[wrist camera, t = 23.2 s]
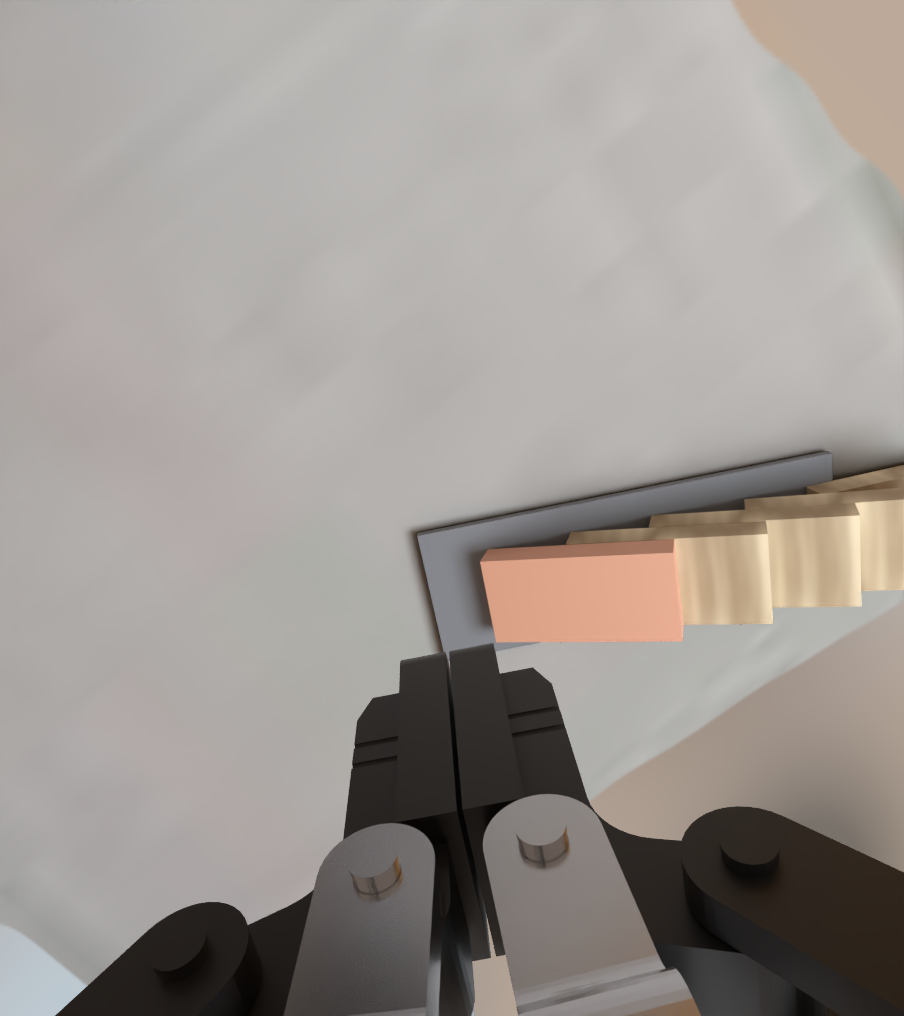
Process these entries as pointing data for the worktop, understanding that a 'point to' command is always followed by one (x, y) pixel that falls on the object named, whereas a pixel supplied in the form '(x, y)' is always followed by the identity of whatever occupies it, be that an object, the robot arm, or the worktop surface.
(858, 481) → the maple domino
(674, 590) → the terracotta domino
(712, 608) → the maple domino
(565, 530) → the mat
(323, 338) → the worktop surface
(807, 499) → the maple domino
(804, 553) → the maple domino
